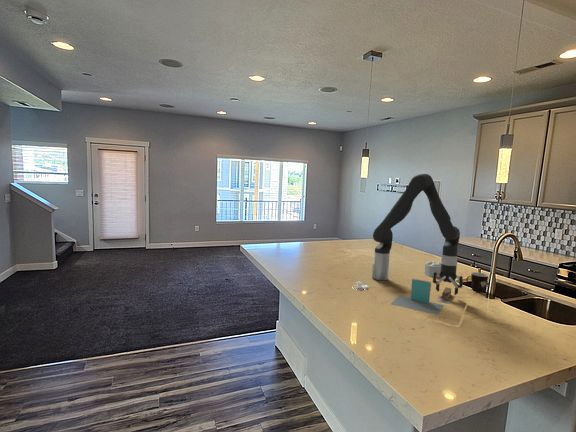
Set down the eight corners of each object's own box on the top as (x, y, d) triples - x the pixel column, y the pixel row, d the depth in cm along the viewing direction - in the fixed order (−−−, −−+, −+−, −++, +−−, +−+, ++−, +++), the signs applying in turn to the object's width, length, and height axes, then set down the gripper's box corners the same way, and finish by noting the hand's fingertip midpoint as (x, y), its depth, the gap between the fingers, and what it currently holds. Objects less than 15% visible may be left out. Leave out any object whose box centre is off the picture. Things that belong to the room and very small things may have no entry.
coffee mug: (484, 289, 190) (486, 273, 189) (488, 294, 182) (490, 277, 180) (462, 286, 193) (464, 270, 192) (465, 291, 185) (467, 274, 184)
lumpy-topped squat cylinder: (429, 277, 212) (430, 264, 211) (420, 271, 225) (421, 259, 224) (444, 277, 213) (446, 264, 212) (435, 271, 226) (436, 260, 225)
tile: (410, 299, 167) (411, 279, 166) (411, 298, 168) (412, 278, 167) (428, 303, 162) (430, 282, 161) (429, 302, 163) (431, 281, 162)
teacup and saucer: (368, 288, 187) (369, 281, 186) (366, 292, 180) (366, 285, 179) (354, 285, 190) (354, 279, 190) (350, 289, 183) (351, 282, 183)
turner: (436, 302, 166) (436, 295, 166) (442, 293, 181) (442, 286, 180) (449, 305, 163) (449, 298, 162) (453, 295, 177) (454, 288, 177)
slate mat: (390, 305, 160) (390, 303, 160) (399, 296, 173) (399, 295, 173) (438, 316, 148) (438, 315, 148) (443, 306, 161) (443, 304, 161)
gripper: (433, 262, 172) (431, 291, 173) (463, 267, 163) (460, 297, 165) (435, 260, 178) (433, 288, 179) (464, 264, 170) (462, 293, 171)
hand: (446, 292), depth 172 cm, fingers open, 8 cm apart
